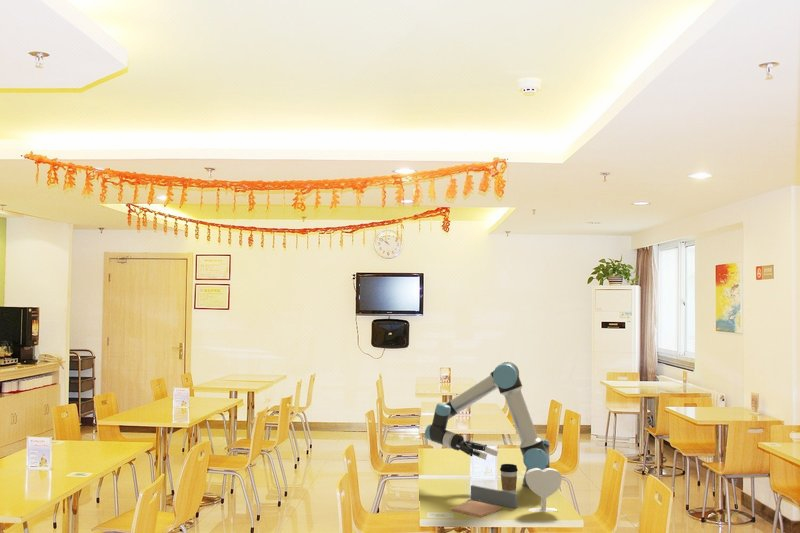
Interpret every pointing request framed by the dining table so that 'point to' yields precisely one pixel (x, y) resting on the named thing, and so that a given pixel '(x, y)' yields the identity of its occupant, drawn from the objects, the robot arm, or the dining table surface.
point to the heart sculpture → (543, 485)
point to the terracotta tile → (476, 508)
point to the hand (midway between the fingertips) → (491, 455)
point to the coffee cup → (509, 477)
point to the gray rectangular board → (494, 496)
